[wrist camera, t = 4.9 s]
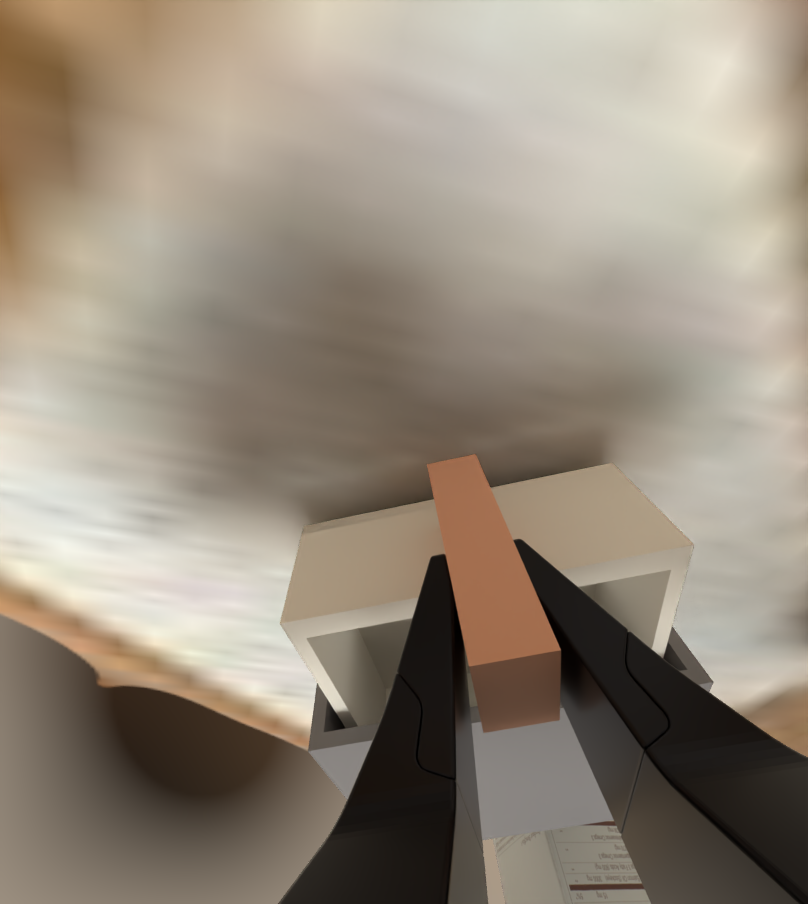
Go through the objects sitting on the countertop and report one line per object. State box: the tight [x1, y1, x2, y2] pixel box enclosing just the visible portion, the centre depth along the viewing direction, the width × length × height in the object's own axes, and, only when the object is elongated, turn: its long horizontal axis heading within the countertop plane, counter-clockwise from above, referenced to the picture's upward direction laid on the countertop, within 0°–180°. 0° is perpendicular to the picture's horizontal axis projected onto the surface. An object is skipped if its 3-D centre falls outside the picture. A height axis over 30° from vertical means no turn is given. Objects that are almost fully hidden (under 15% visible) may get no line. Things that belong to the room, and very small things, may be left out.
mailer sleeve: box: [308, 627, 713, 840], centre depth 19 cm, size 14×13×6 cm
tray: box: [280, 454, 694, 733], centre depth 14 cm, size 12×15×8 cm
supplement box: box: [493, 820, 651, 904], centre depth 23 cm, size 7×7×13 cm
